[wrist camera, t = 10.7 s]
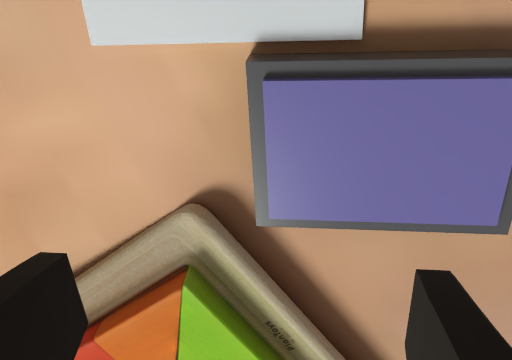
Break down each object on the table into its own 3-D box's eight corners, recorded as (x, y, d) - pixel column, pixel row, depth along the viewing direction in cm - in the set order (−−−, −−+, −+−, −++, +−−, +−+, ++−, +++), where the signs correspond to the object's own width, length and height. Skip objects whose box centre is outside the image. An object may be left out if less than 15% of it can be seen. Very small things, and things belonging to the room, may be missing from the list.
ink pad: (542, 48, 16) (558, 59, 15) (499, 220, 19) (510, 239, 18) (249, 54, 17) (244, 64, 16) (259, 212, 20) (255, 230, 19)
